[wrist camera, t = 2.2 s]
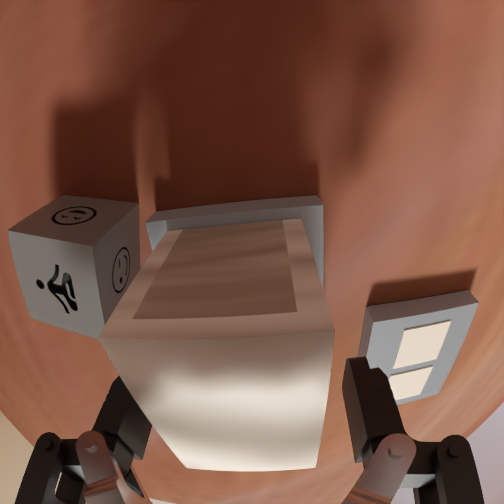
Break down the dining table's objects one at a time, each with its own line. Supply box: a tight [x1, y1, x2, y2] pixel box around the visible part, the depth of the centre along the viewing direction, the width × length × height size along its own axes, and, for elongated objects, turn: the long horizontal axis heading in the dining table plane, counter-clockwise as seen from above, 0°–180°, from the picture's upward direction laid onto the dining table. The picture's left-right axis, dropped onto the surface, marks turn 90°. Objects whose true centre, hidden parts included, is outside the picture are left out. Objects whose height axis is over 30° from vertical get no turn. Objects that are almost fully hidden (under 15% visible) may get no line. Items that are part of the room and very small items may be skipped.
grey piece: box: [145, 195, 324, 286], centre depth 14 cm, size 10×8×6 cm
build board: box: [358, 290, 479, 405], centre depth 18 cm, size 10×8×2 cm
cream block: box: [98, 218, 335, 471], centre depth 12 cm, size 9×6×7 cm, turn 7°
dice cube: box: [7, 195, 140, 339], centre depth 13 cm, size 5×5×5 cm
